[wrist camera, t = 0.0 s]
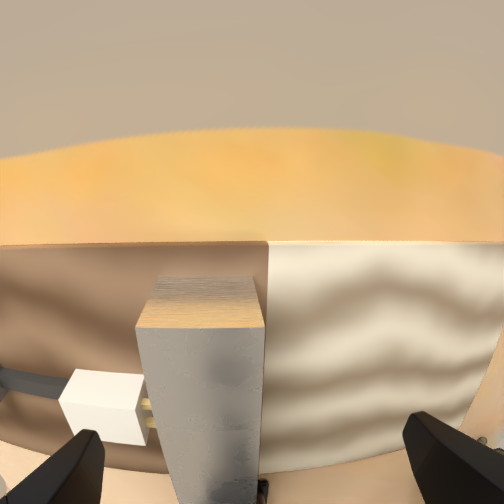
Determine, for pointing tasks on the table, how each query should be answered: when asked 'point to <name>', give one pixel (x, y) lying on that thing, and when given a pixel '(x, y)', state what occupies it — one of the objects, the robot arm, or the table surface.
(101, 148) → the table surface
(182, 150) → the table surface
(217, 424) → the motor housing
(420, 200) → the table surface
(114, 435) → the plug
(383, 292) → the base board
